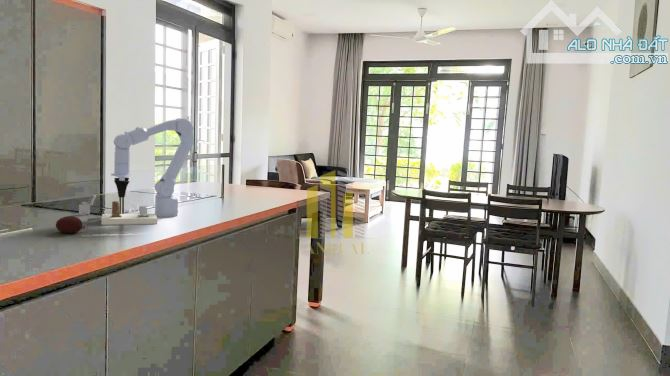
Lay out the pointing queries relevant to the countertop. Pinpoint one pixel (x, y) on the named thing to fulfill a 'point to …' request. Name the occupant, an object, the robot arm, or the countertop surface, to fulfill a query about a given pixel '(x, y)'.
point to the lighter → (86, 206)
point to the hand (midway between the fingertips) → (121, 195)
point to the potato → (69, 224)
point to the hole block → (128, 219)
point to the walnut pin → (115, 209)
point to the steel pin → (143, 211)
